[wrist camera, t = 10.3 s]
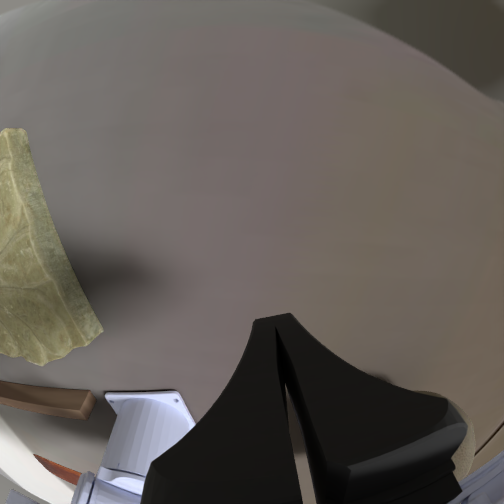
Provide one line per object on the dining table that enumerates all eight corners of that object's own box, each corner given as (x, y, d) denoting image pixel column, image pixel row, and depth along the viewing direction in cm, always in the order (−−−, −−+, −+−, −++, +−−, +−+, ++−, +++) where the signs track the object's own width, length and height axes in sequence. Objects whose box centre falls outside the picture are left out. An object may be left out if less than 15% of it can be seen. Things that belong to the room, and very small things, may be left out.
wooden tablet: (161, 492, 32) (160, 499, 30) (165, 507, 35) (164, 513, 34) (30, 447, 29) (27, 452, 28) (47, 469, 32) (45, 474, 31)
